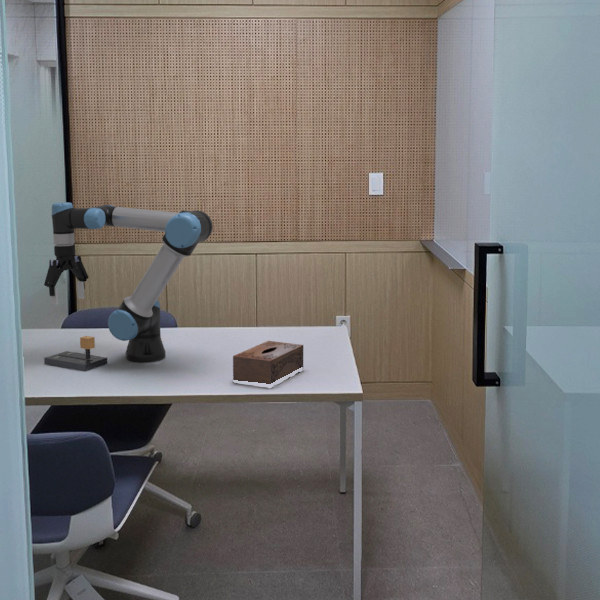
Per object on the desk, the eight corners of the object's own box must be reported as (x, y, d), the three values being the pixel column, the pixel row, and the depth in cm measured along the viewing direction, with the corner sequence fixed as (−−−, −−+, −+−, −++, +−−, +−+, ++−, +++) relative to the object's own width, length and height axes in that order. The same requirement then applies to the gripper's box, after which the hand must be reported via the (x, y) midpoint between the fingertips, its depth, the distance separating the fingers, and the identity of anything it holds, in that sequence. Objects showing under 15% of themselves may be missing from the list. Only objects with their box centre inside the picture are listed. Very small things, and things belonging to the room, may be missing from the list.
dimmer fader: (95, 358, 331) (94, 337, 330) (89, 360, 329) (88, 338, 327) (86, 357, 333) (86, 335, 332) (80, 358, 331) (80, 337, 329)
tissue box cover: (270, 389, 305) (270, 360, 303) (233, 384, 311) (232, 356, 309) (303, 371, 327) (303, 344, 325) (268, 366, 334) (268, 340, 332)
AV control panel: (107, 364, 335) (107, 357, 334) (85, 371, 324) (85, 364, 324) (67, 357, 344) (66, 350, 344) (44, 364, 334) (44, 357, 333)
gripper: (81, 240, 343) (84, 295, 347) (31, 248, 322) (35, 306, 326) (95, 241, 339) (99, 296, 343) (46, 249, 318) (50, 308, 322)
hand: (68, 301), depth 334 cm, fingers open, 13 cm apart
